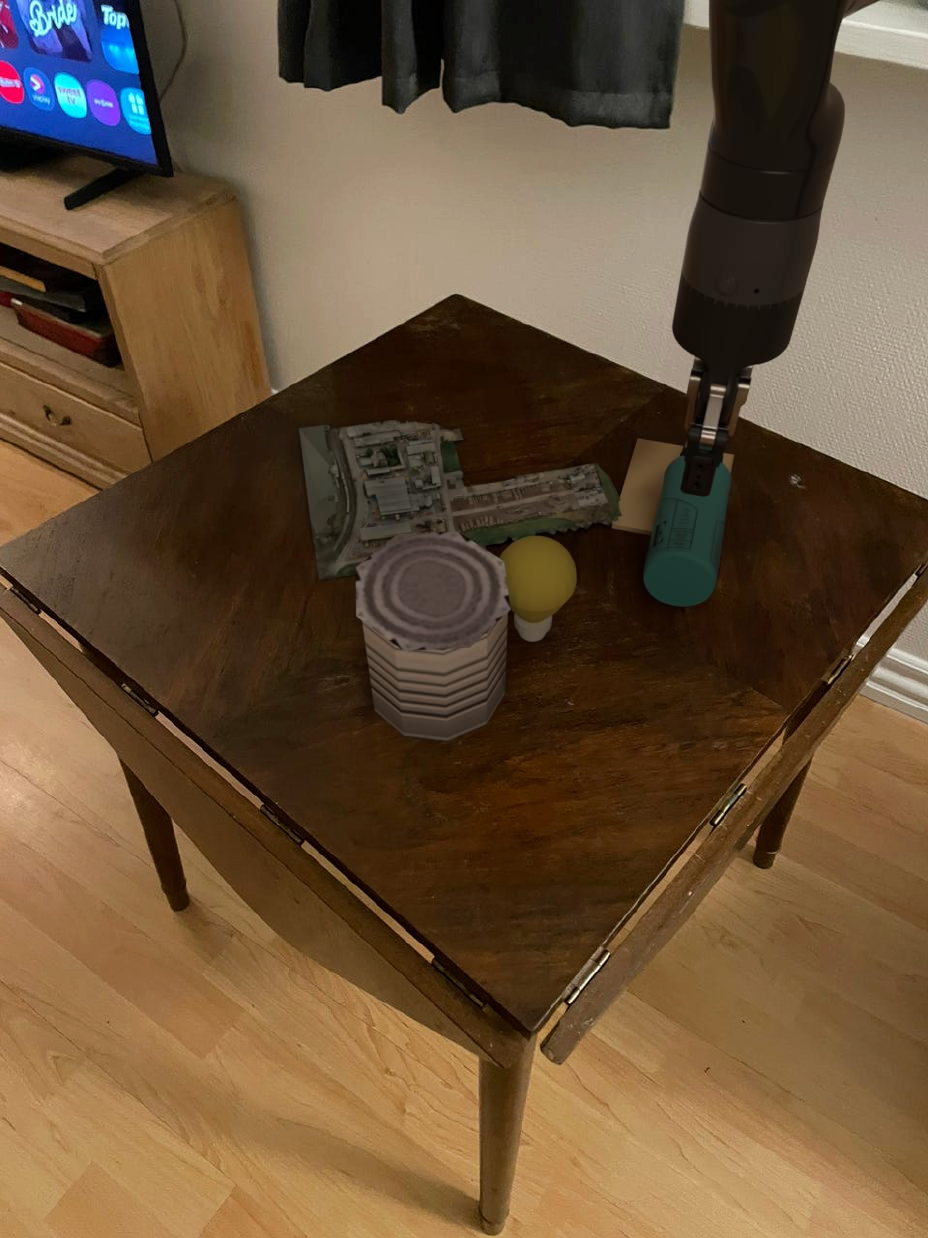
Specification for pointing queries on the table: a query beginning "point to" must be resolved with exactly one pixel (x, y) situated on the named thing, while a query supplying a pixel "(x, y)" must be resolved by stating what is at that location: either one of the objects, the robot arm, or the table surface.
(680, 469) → the beverage bottle
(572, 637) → the table surface
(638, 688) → the table surface
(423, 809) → the table surface
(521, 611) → the light bulb
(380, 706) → the can
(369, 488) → the model
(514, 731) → the table surface
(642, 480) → the mat
